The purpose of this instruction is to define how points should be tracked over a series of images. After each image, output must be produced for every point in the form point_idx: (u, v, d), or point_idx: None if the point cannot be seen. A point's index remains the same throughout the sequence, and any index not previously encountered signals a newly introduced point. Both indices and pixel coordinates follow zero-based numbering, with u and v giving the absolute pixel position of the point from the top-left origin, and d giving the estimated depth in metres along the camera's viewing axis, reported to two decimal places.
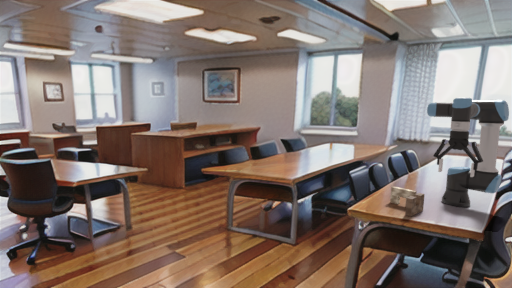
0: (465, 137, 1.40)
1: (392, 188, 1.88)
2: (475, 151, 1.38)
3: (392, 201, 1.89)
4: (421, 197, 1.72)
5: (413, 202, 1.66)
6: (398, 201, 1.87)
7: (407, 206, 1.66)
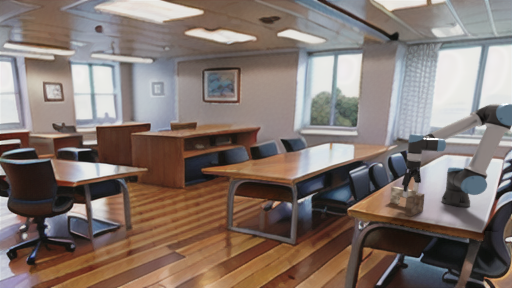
0: (407, 165, 1.78)
1: (392, 188, 1.88)
2: None
3: (392, 201, 1.89)
4: (421, 197, 1.72)
5: (413, 202, 1.66)
6: (398, 201, 1.87)
7: (407, 206, 1.66)
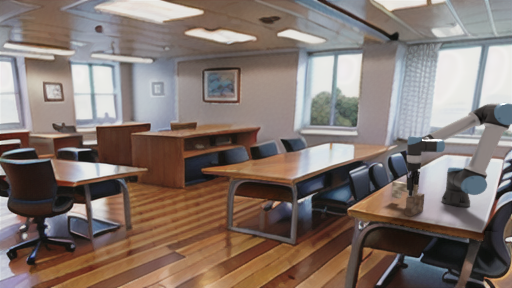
0: (407, 167, 1.78)
1: (393, 183, 1.88)
2: None
3: (394, 196, 1.88)
4: (421, 197, 1.72)
5: (413, 202, 1.66)
6: (400, 195, 1.87)
7: (407, 206, 1.66)
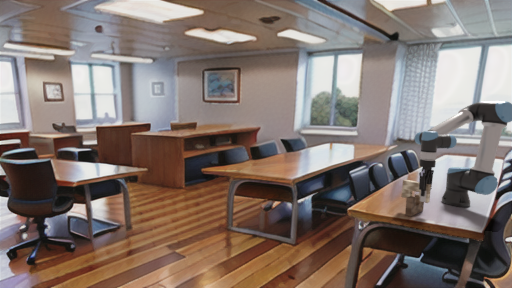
0: (421, 164, 1.64)
1: (404, 181, 1.73)
2: None
3: (404, 195, 1.74)
4: None
5: (413, 202, 1.66)
6: (410, 195, 1.72)
7: (407, 206, 1.66)
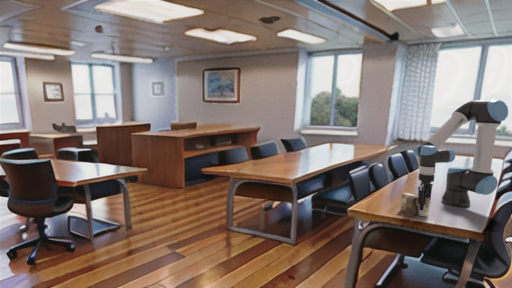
0: (420, 179, 1.65)
1: (403, 194, 1.74)
2: None
3: (403, 209, 1.75)
4: None
5: (413, 202, 1.66)
6: None
7: (407, 206, 1.66)
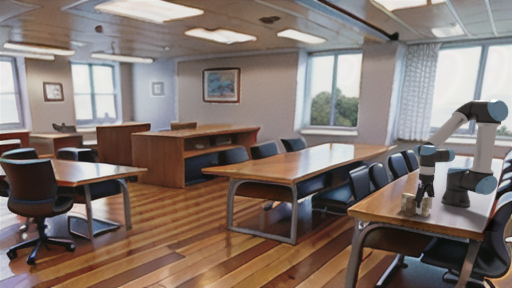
0: (420, 179, 1.65)
1: (403, 195, 1.74)
2: None
3: (403, 209, 1.75)
4: None
5: (413, 202, 1.66)
6: None
7: (407, 206, 1.66)
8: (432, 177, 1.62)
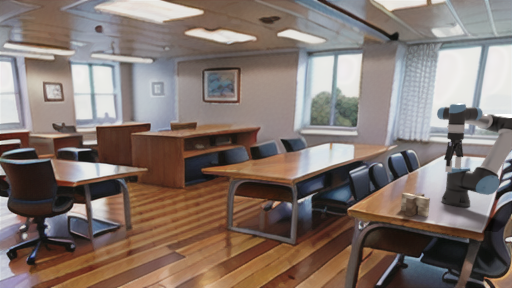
0: (449, 137, 1.65)
1: (403, 195, 1.74)
2: None
3: (403, 209, 1.75)
4: None
5: (413, 202, 1.66)
6: None
7: (407, 206, 1.66)
8: (462, 135, 1.61)
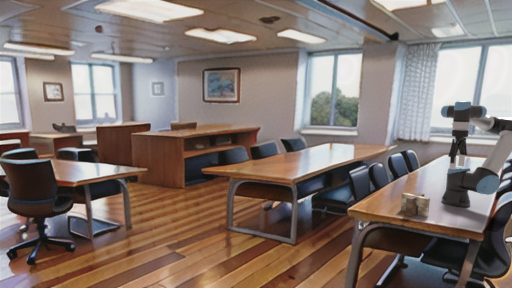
0: (453, 135, 1.65)
1: (403, 195, 1.74)
2: None
3: (403, 209, 1.75)
4: None
5: (413, 202, 1.66)
6: None
7: (407, 206, 1.66)
8: (466, 132, 1.62)
